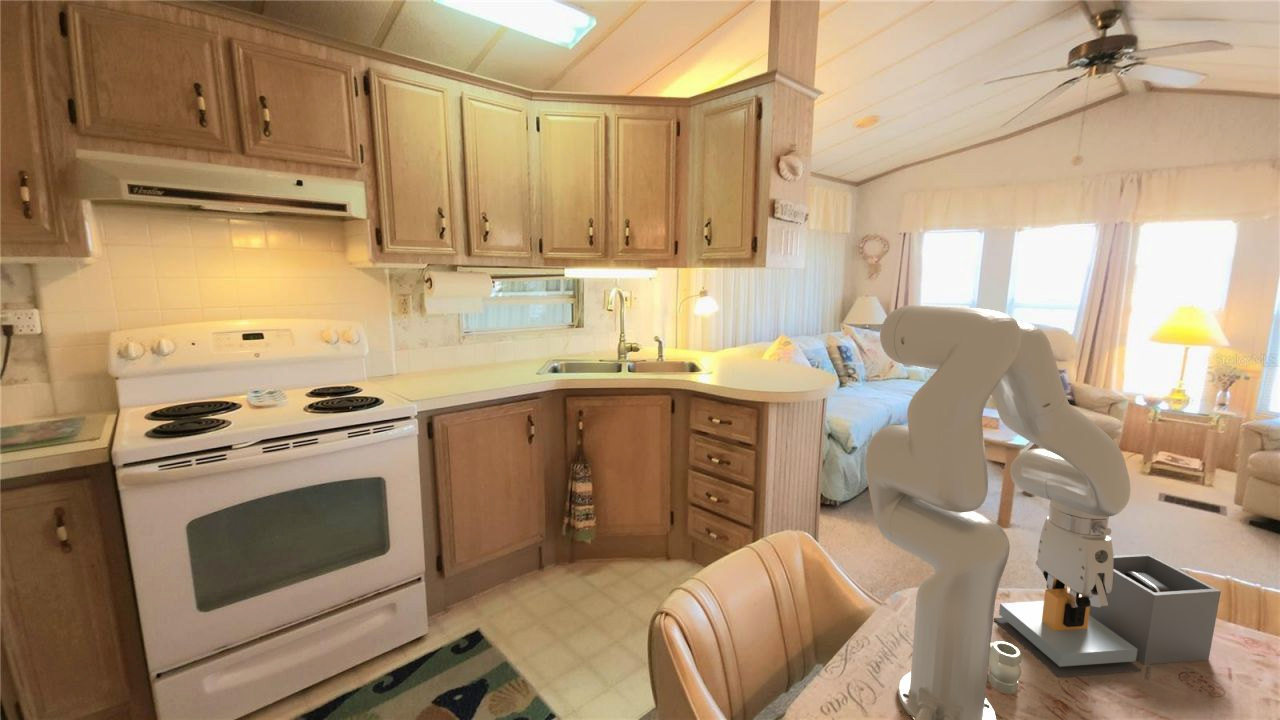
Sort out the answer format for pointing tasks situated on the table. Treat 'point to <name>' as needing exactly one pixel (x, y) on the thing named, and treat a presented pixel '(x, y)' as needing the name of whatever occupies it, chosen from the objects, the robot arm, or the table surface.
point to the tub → (1160, 611)
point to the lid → (1066, 632)
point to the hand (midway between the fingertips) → (1064, 618)
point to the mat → (1066, 670)
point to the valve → (1004, 667)
